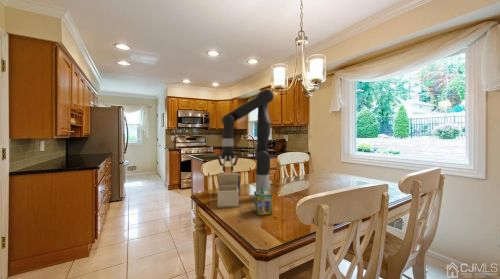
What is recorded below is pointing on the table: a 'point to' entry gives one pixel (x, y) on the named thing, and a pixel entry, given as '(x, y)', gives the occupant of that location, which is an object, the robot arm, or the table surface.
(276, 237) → the table surface
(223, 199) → the carton
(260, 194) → the chalk box
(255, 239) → the table surface
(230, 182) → the carton lid
